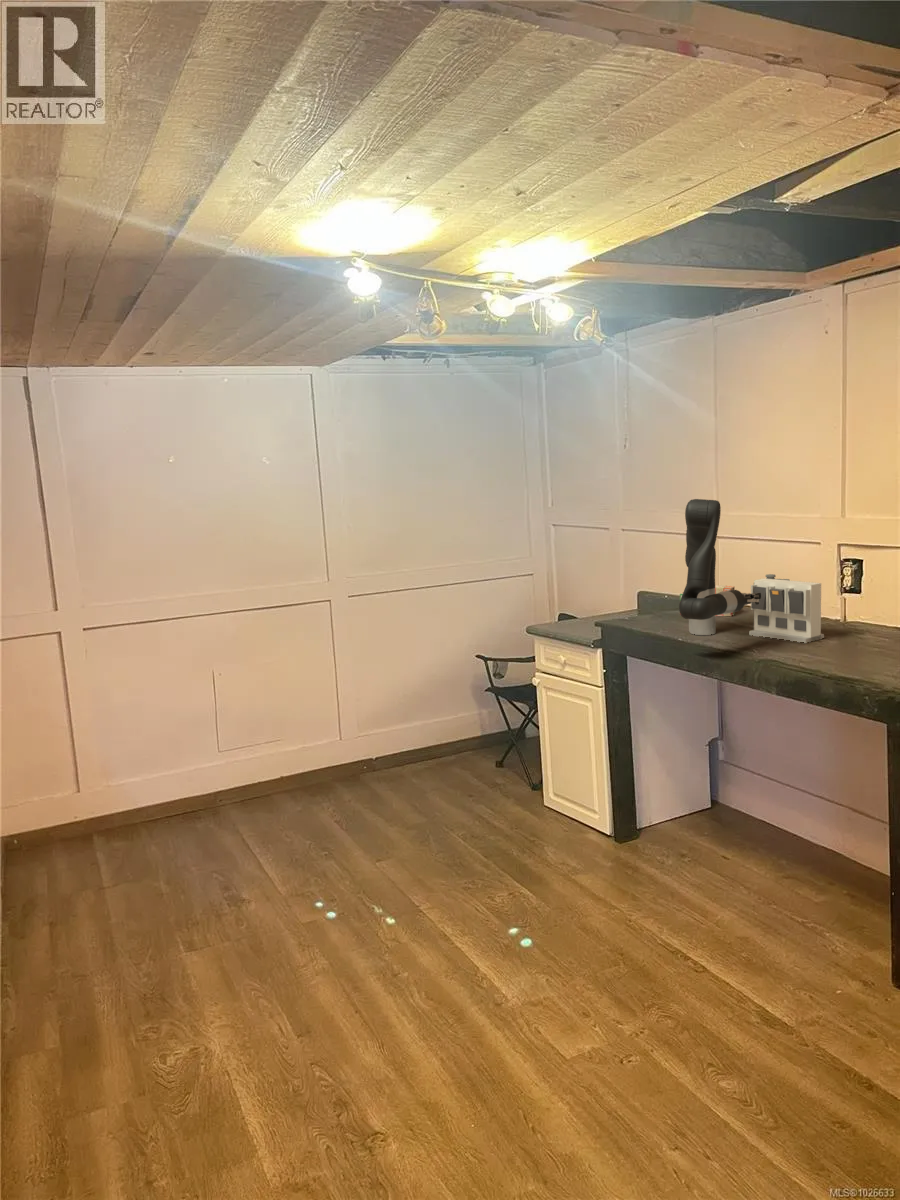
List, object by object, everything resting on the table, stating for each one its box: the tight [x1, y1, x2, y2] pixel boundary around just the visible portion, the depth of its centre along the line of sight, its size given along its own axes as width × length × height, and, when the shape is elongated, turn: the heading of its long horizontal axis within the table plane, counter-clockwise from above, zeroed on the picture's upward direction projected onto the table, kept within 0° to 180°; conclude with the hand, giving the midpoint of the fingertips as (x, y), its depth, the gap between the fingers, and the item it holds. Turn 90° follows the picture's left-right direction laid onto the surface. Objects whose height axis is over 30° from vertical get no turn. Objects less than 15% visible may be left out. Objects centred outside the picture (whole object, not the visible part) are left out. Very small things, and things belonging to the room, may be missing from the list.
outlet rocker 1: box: [769, 588, 785, 612], centre depth 319 cm, size 2×5×8 cm, turn 35°
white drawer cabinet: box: [748, 577, 825, 644], centre depth 323 cm, size 11×23×20 cm, turn 36°
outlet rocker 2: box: [788, 590, 804, 614], centre depth 313 cm, size 2×5×8 cm, turn 35°
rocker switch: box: [750, 587, 766, 610], centre depth 325 cm, size 2×5×8 cm, turn 36°
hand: (758, 595), depth 313 cm, fingers closed
